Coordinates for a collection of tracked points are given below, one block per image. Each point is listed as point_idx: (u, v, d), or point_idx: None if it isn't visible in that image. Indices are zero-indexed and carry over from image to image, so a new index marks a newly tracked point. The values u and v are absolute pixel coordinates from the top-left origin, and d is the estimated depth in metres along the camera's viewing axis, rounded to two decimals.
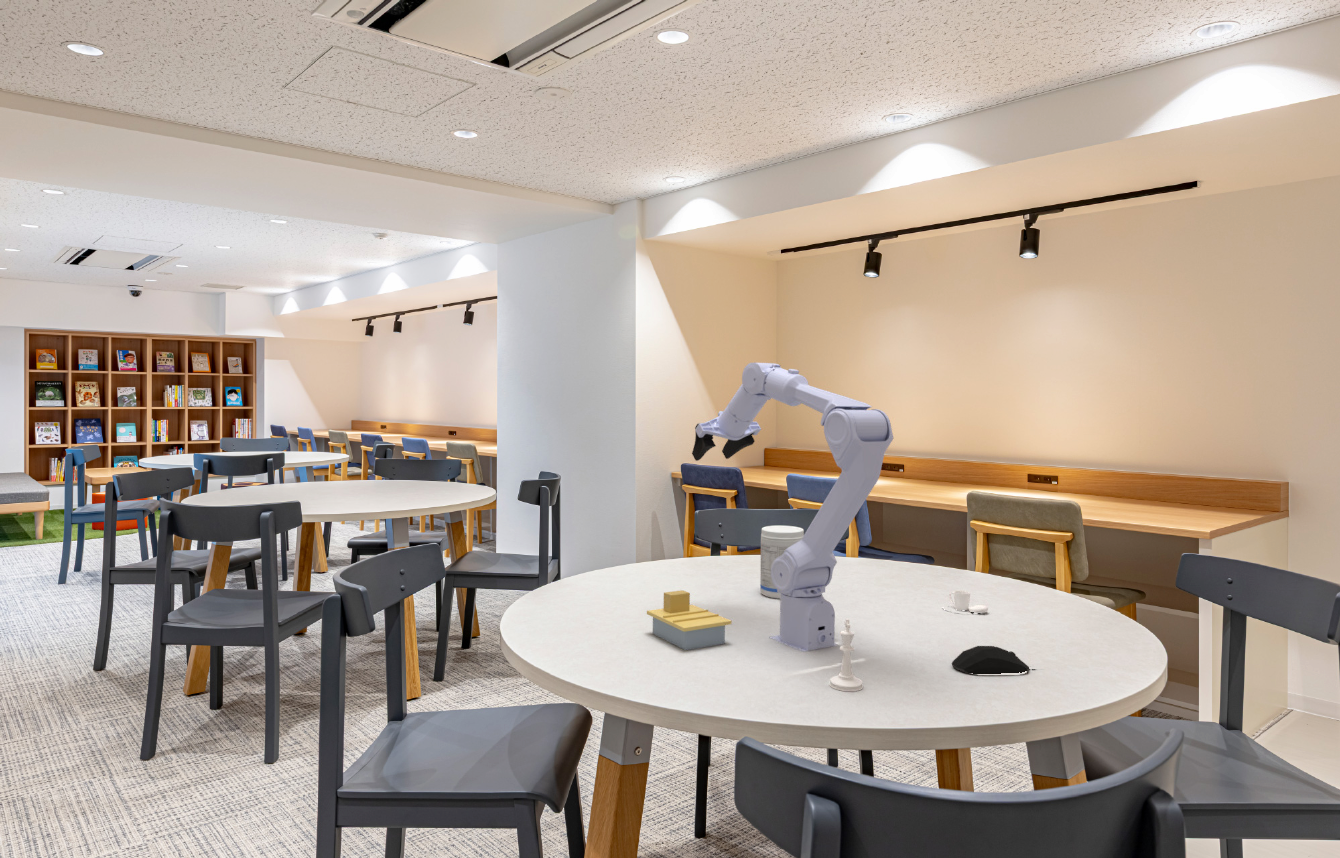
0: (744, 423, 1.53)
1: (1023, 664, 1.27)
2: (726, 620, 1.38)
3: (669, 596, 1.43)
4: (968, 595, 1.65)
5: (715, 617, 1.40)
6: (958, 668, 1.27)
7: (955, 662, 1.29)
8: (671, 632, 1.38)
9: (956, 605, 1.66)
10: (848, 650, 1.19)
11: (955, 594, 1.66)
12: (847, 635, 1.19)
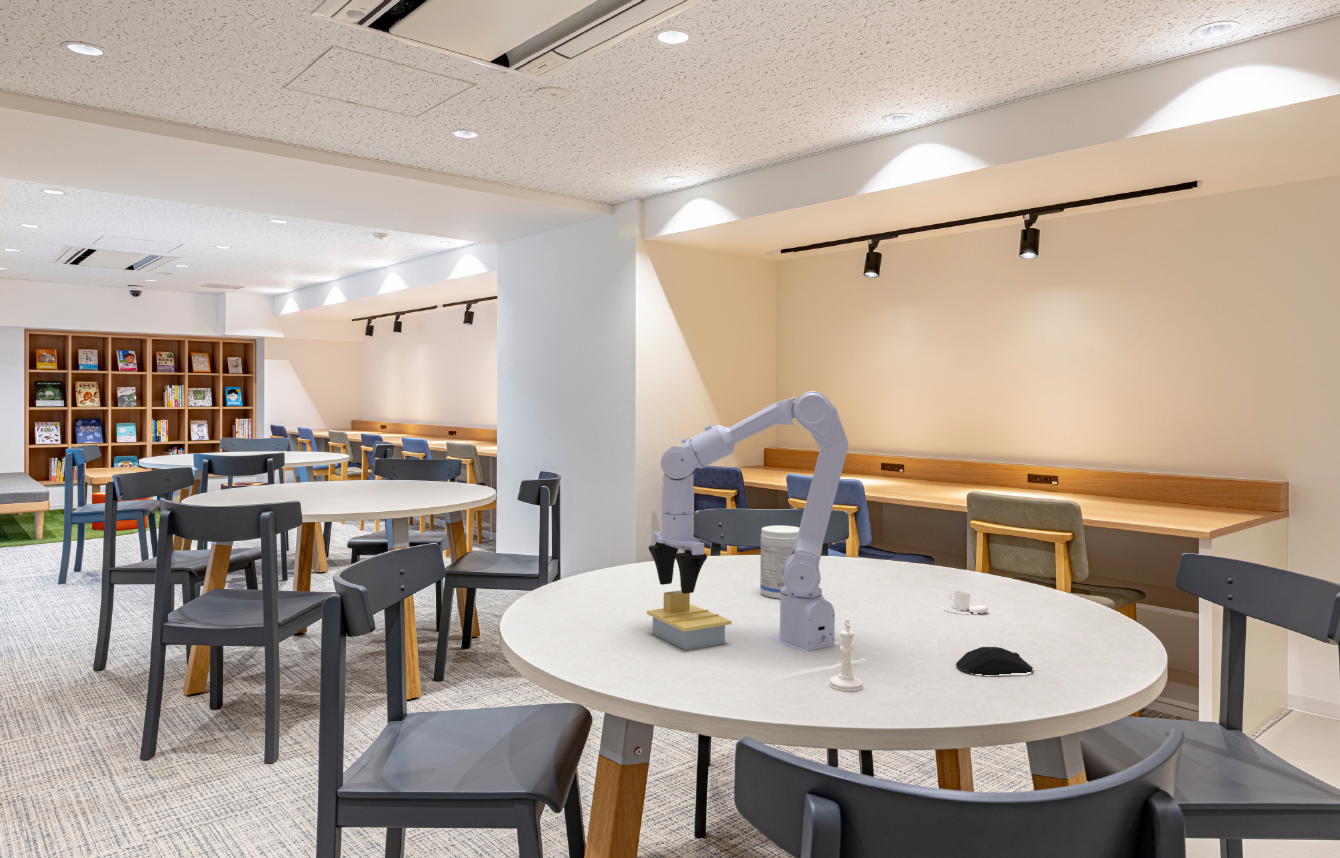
0: None
1: (1027, 665, 1.27)
2: (726, 620, 1.38)
3: (669, 596, 1.43)
4: (968, 595, 1.65)
5: (715, 617, 1.40)
6: (962, 669, 1.27)
7: (959, 663, 1.28)
8: (671, 632, 1.38)
9: (956, 605, 1.66)
10: (848, 650, 1.19)
11: (955, 594, 1.66)
12: (847, 635, 1.19)
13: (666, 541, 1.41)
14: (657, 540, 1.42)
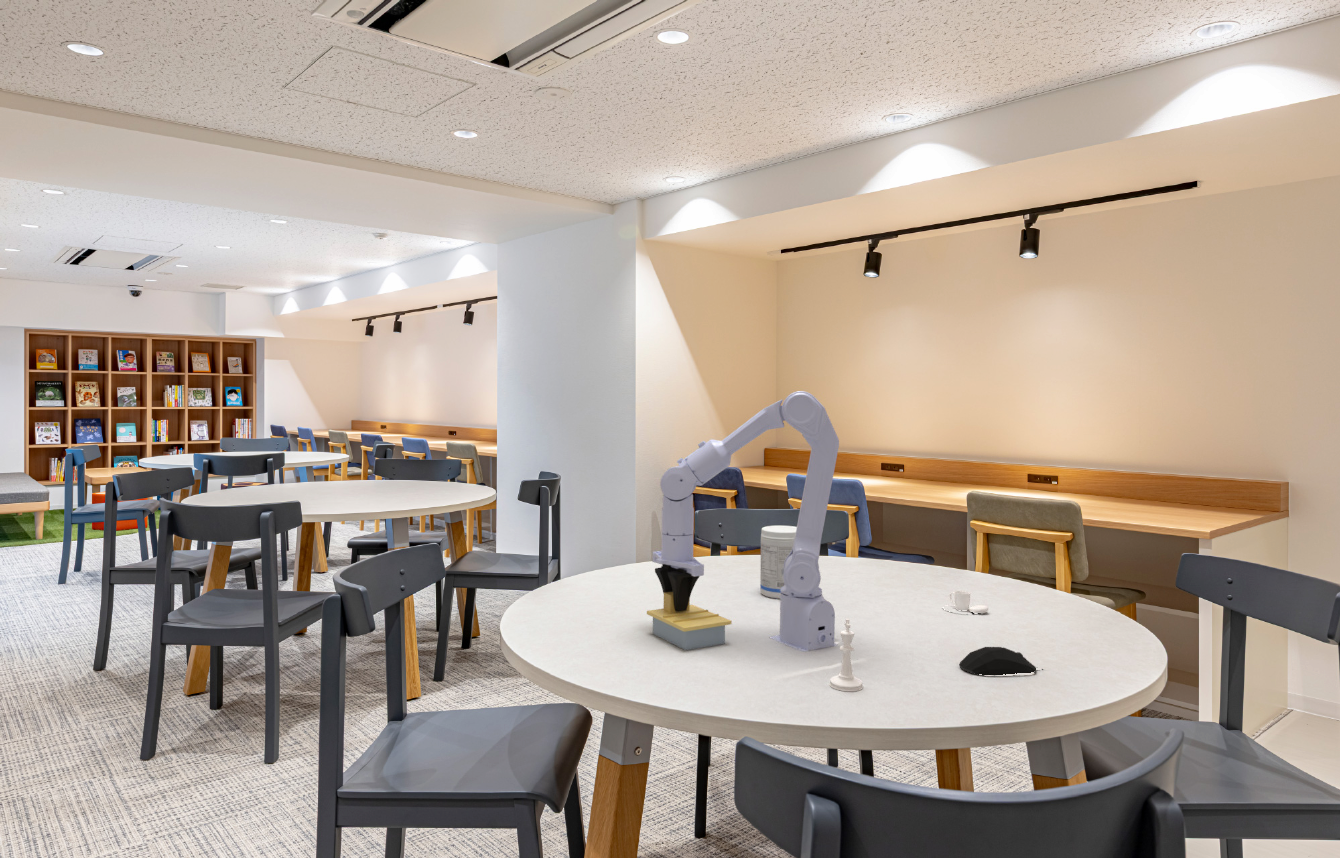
0: None
1: (1030, 665, 1.27)
2: (726, 620, 1.38)
3: (669, 596, 1.43)
4: (968, 595, 1.65)
5: (715, 617, 1.40)
6: (966, 669, 1.27)
7: (963, 663, 1.28)
8: (671, 632, 1.38)
9: (956, 605, 1.66)
10: (848, 650, 1.19)
11: (955, 594, 1.66)
12: (847, 635, 1.19)
13: (666, 562, 1.42)
14: (657, 561, 1.42)
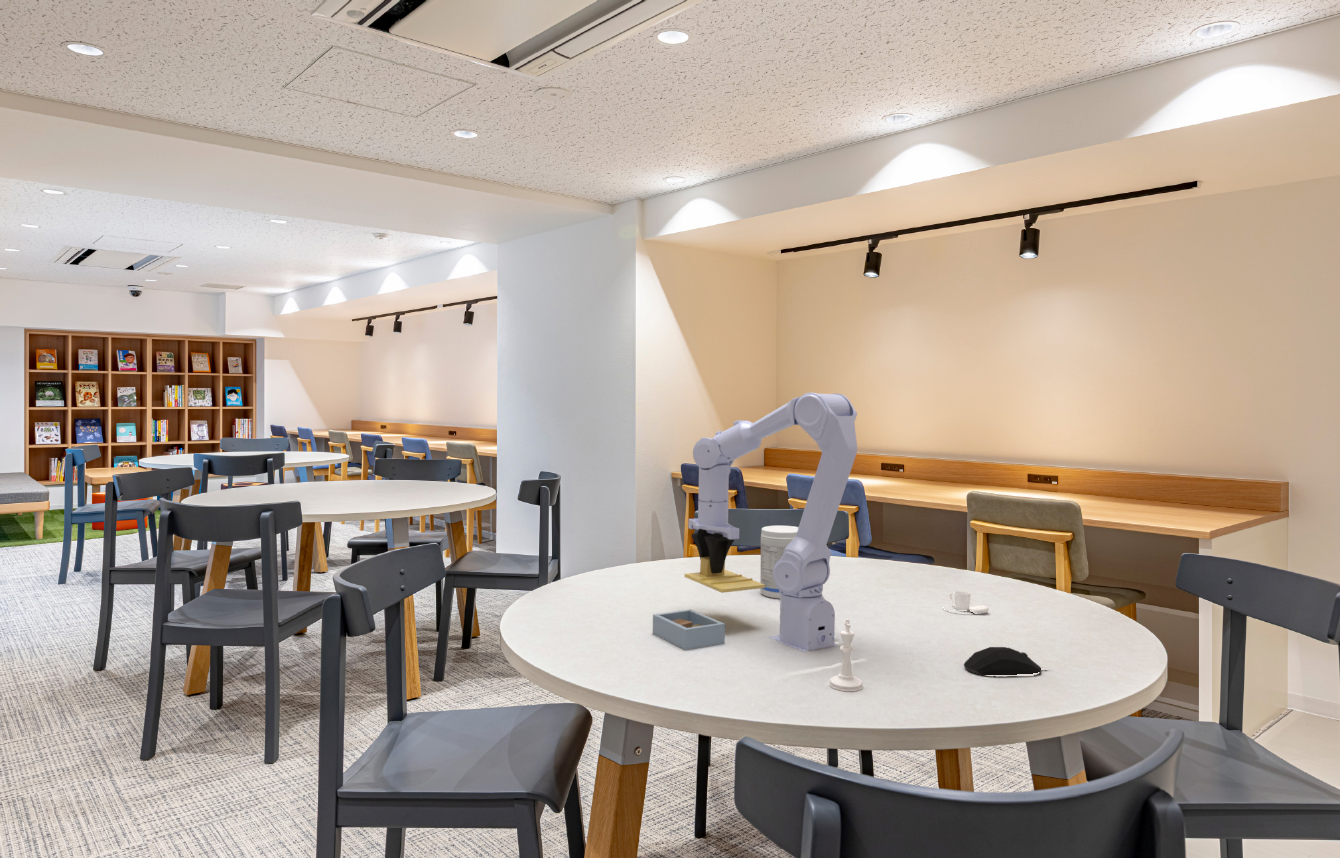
0: None
1: (1035, 665, 1.27)
2: (760, 584, 1.48)
3: (706, 560, 1.52)
4: (969, 595, 1.65)
5: (749, 581, 1.50)
6: (971, 670, 1.26)
7: (967, 663, 1.28)
8: (671, 632, 1.38)
9: (957, 605, 1.65)
10: (848, 650, 1.19)
11: (956, 594, 1.66)
12: (847, 635, 1.19)
13: (703, 527, 1.51)
14: (694, 526, 1.52)
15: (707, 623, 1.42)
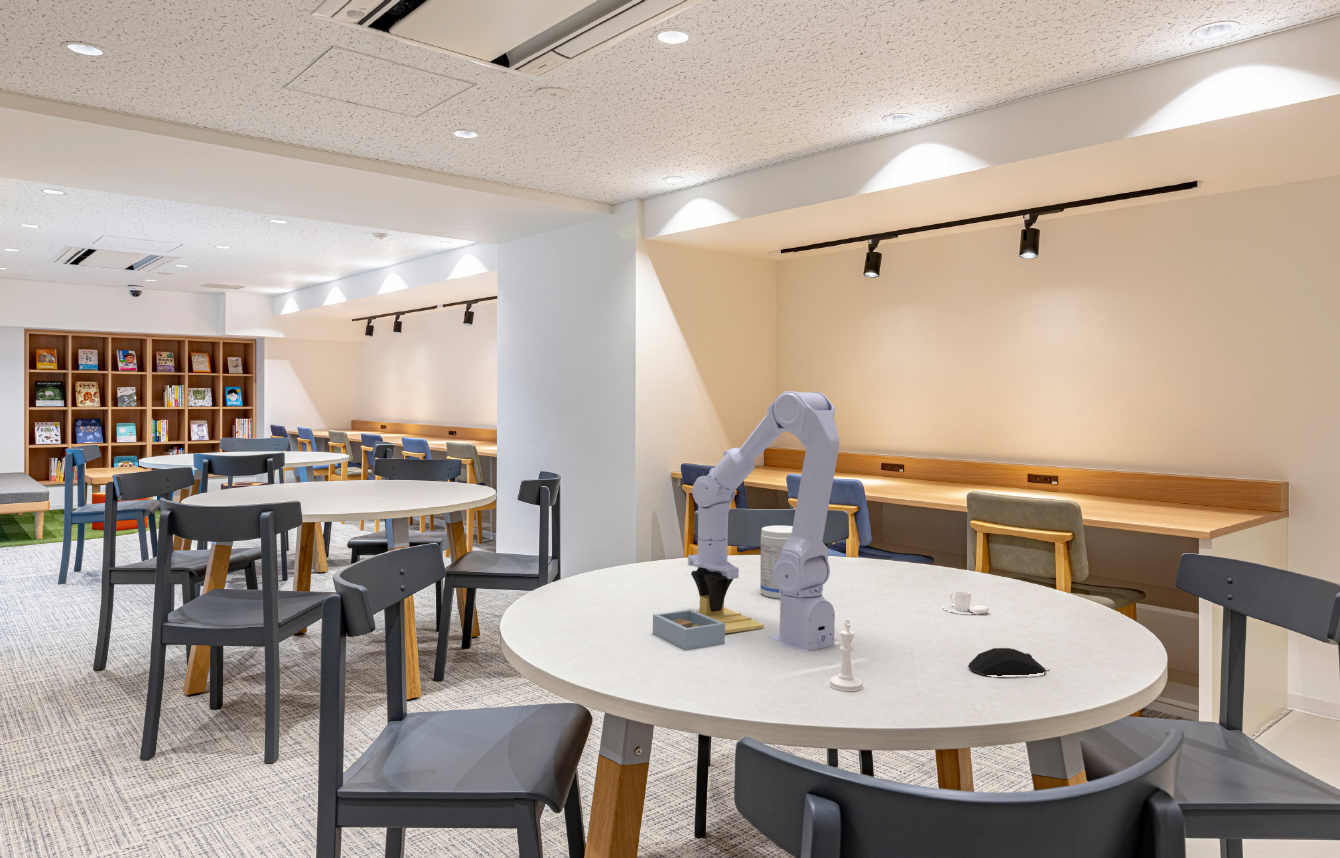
0: None
1: (1040, 666, 1.27)
2: (759, 624, 1.48)
3: (705, 599, 1.52)
4: (969, 595, 1.65)
5: (748, 621, 1.50)
6: (975, 671, 1.26)
7: (972, 665, 1.28)
8: (671, 632, 1.38)
9: (957, 605, 1.65)
10: (848, 650, 1.19)
11: (956, 594, 1.65)
12: (847, 635, 1.19)
13: (702, 565, 1.52)
14: (694, 564, 1.52)
15: (707, 623, 1.42)
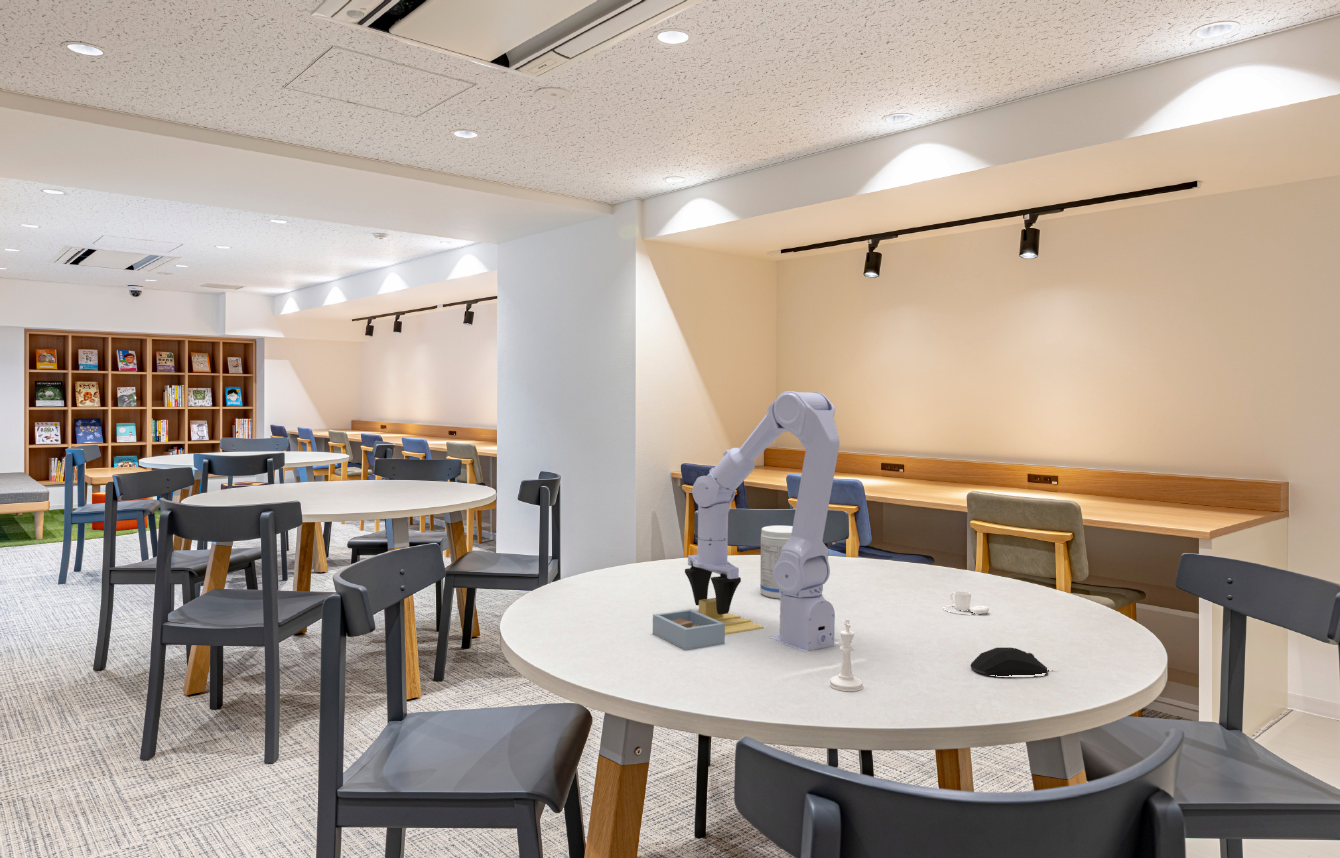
0: None
1: (1042, 665, 1.27)
2: (758, 626, 1.48)
3: (704, 603, 1.53)
4: (969, 595, 1.65)
5: (748, 623, 1.50)
6: (978, 670, 1.26)
7: (974, 664, 1.28)
8: (671, 632, 1.38)
9: (957, 605, 1.65)
10: (848, 650, 1.19)
11: (956, 594, 1.65)
12: (847, 635, 1.19)
13: (702, 565, 1.52)
14: (694, 564, 1.52)
15: (707, 623, 1.42)
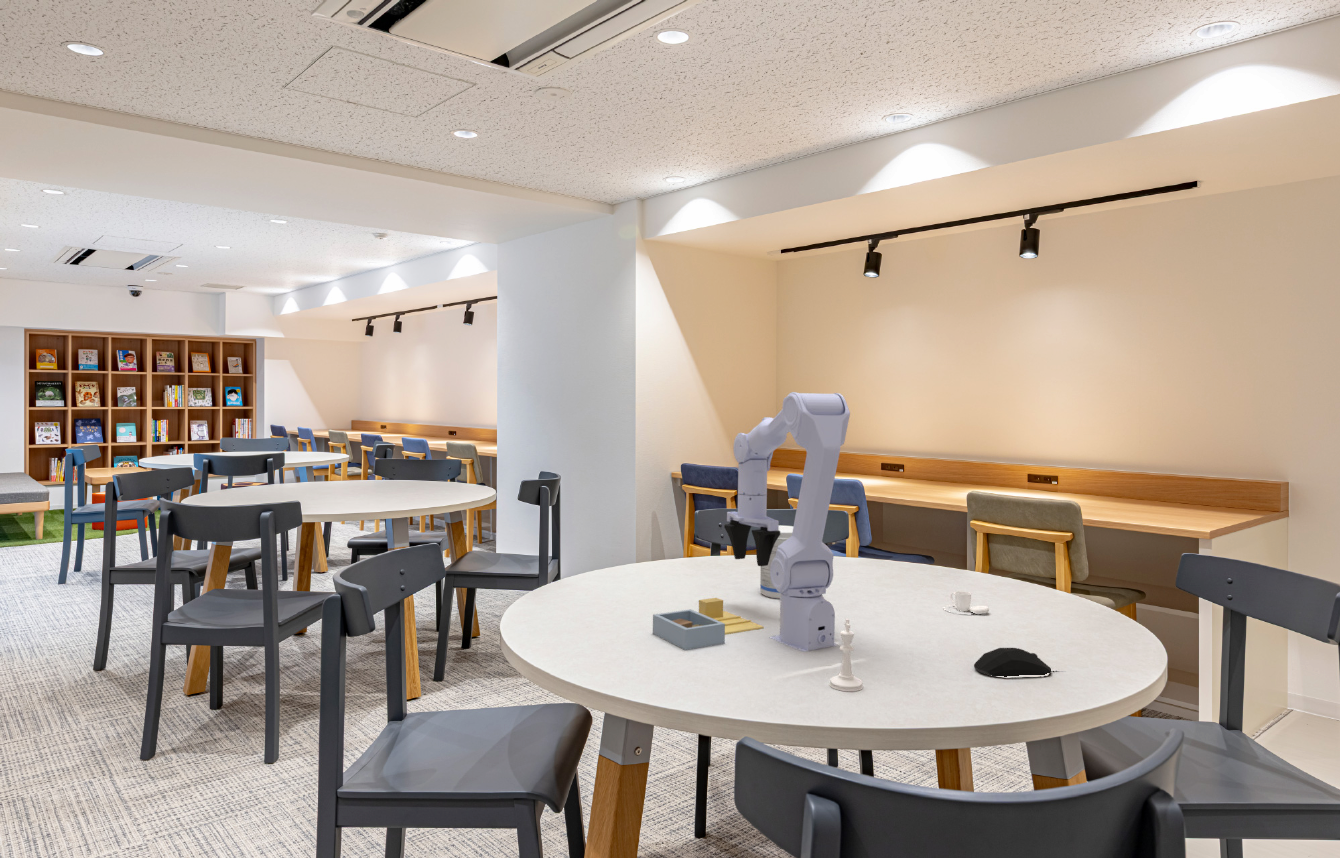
0: None
1: (1045, 666, 1.26)
2: (758, 626, 1.48)
3: (704, 603, 1.53)
4: (969, 595, 1.64)
5: (748, 623, 1.50)
6: (981, 671, 1.26)
7: (978, 664, 1.27)
8: (671, 632, 1.38)
9: (957, 606, 1.65)
10: (848, 650, 1.19)
11: (956, 594, 1.65)
12: (847, 635, 1.19)
13: (743, 519, 1.57)
14: (734, 518, 1.58)
15: (707, 623, 1.42)
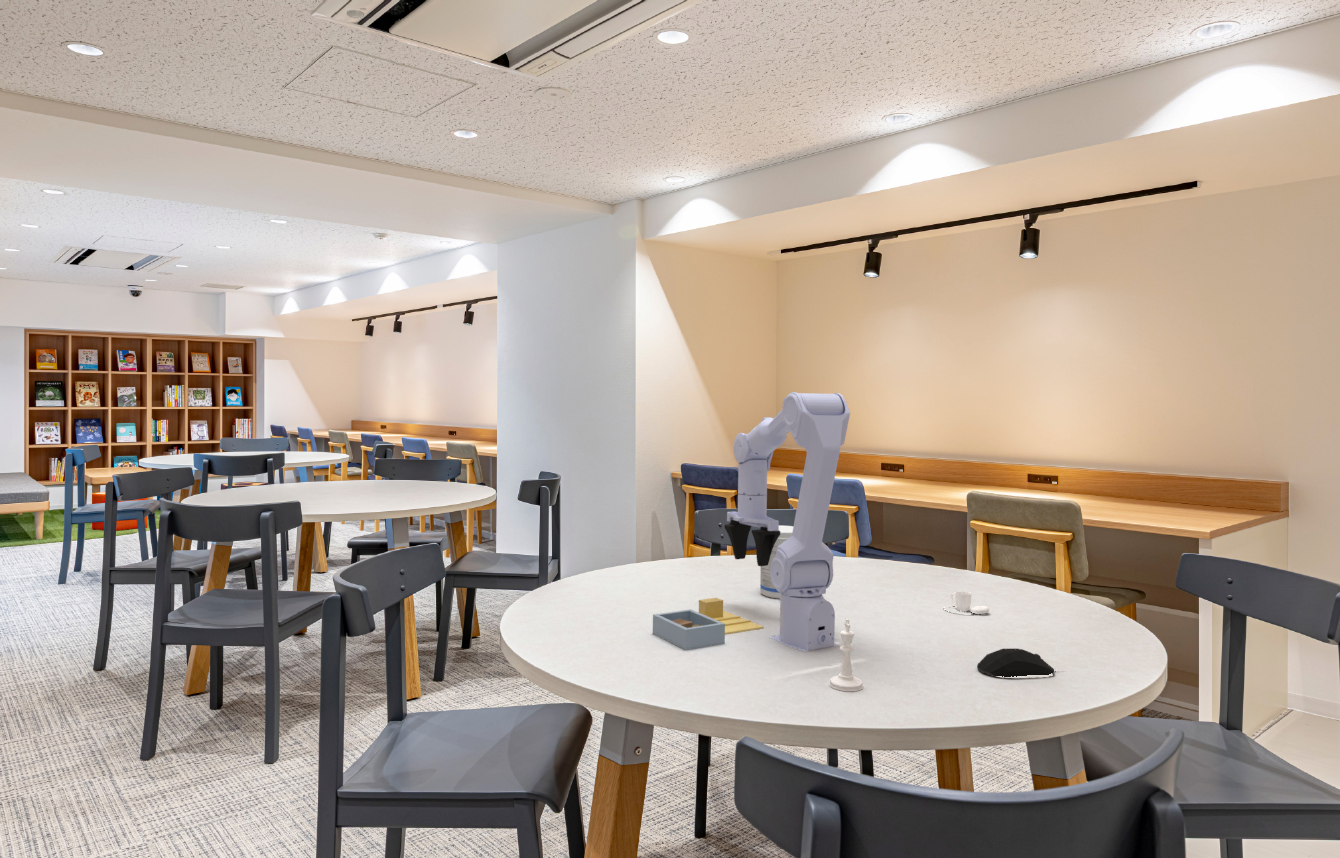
0: None
1: (1049, 666, 1.26)
2: (758, 626, 1.48)
3: (704, 603, 1.53)
4: (969, 596, 1.64)
5: (748, 623, 1.50)
6: (985, 671, 1.26)
7: (981, 665, 1.27)
8: (671, 632, 1.38)
9: (957, 606, 1.65)
10: (848, 650, 1.19)
11: (956, 595, 1.65)
12: (847, 635, 1.19)
13: (743, 519, 1.57)
14: (734, 518, 1.58)
15: (707, 623, 1.42)
